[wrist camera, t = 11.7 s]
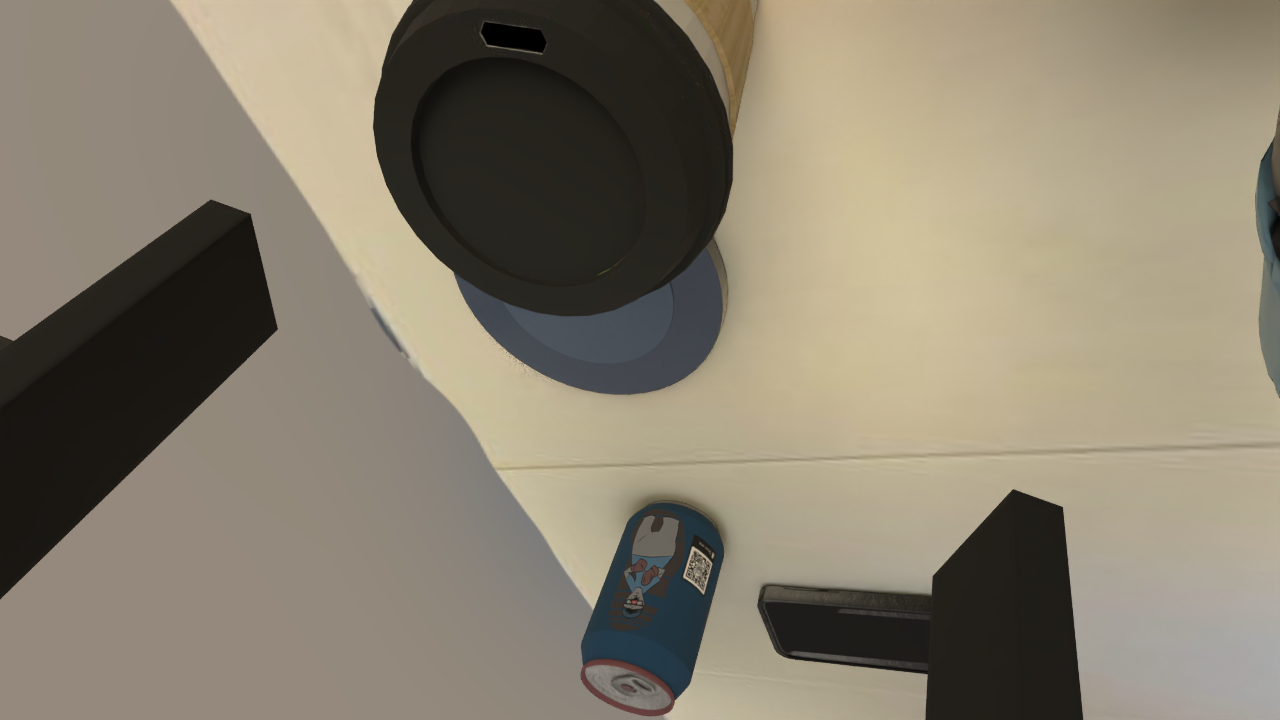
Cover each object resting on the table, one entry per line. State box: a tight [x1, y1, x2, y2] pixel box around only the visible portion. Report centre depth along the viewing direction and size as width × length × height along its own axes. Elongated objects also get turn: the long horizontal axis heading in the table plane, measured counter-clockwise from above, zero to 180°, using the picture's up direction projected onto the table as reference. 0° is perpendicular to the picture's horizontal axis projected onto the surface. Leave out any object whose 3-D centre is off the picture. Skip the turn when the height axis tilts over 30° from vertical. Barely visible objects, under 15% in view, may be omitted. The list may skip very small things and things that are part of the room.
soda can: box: [581, 501, 724, 716], centre depth 49 cm, size 7×7×12 cm
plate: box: [454, 238, 728, 395], centre depth 40 cm, size 15×15×1 cm
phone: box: [757, 586, 932, 674], centre depth 53 cm, size 8×1×15 cm
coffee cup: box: [373, 0, 757, 317], centre depth 25 cm, size 10×10×15 cm
